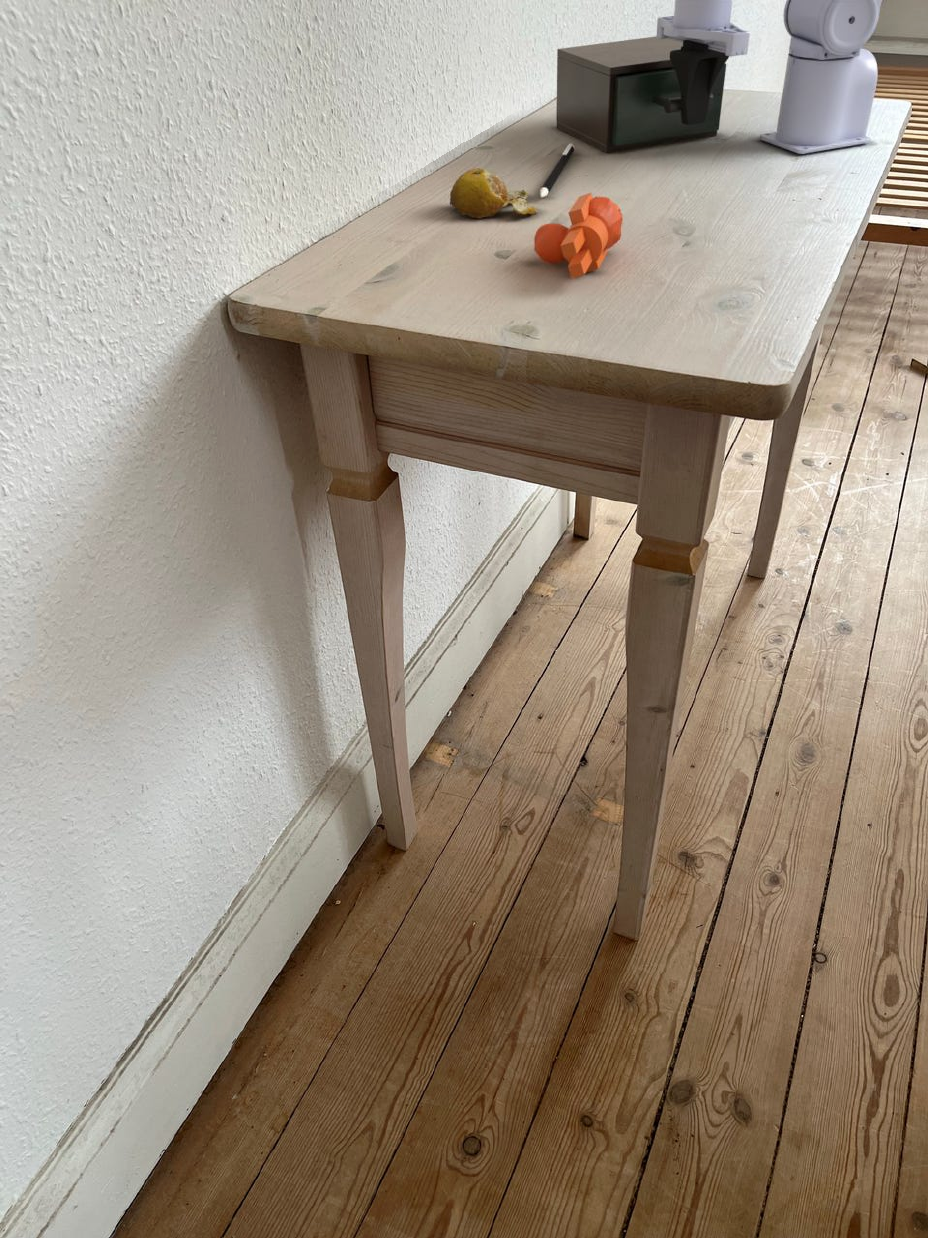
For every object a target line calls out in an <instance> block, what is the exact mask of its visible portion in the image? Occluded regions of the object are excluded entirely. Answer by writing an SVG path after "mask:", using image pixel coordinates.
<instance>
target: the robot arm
mask: <svg viewBox="0 0 928 1238" xmlns="http://www.w3.org/2000/svg"><path fill="white" fill-rule="evenodd" d="M882 2H883V0H786V1H785V4H784V8H783V24H784V28H785V30H786V32H787V34H788V35H789V36H790V41H789V47H788V53H787V61H786V67H785V74H784V79H783V86H782V92H781V100H780V105H779V113H778V119H777V126H776V131H771V132H767V133H761V134H759V137H758V138H759V140H761V141H763V142H766V143H769V144H772V145H774V146H776V147H779V148H782V149H784V150H787V151H790V152H793V153H795V154H799V155H804V154H811V153H815V152H821V151H828V150H832V149H833V150H834V149H839V148H845V147H846V148H847V147H851V146H857V145H863V144H869V143H870V142H871V137H868V136H867V133H868V127H869V122H870V117H871V113H872V109H873V104H874V99H875V94H876V89H877V84H878V78H879V77H878V73H879V71H878V64H877V60H876V57H875V56H874V54H873V53H872V52H870V51H869V50H868V49H866V48H862V47H863V46H864V45H865V44H866V43H867V42H868V41H869V40H870V39H871V36H872V35H873V34H874V31H875V29H876V27H877V25H878V21H879V19H880V13H881V5H882ZM732 7H733V0H674V9H673V10H674V12H673V15H669V16H661V17H657V20H656V21H657V23H656V38H658V39H666V38H667V39H671V40H675V41H679V42H683V46H681V49H680V50H673V51H671V52H670V60H671V62H672V64H673V67H674V69H675V72H676V75H677V78H678V82H679V86H680V92H681V119H682V123H683V124H686V125H693V124H699V123H704V122H705V119H706V115H707V111H708V106H709V100H710V94H711V90H712V88H713V85H714V83H715V81H716V78H717V76H718V74H719V73H720V71H721V69H722V67H723V66H724V64H725V63H726V62H727V61H728V60H729V58H730V57H737V56H745V55H748V51H749V45H750V44H749V42H750V36H751V35H750V34H751V32H750V31H748V30H745V29H743V28H740V27H739V26H737V25H735V24H733V22H731V16H732Z"/></svg>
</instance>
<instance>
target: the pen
mask: <svg viewBox="0 0 928 1238" xmlns="http://www.w3.org/2000/svg"><path fill="white" fill-rule="evenodd" d="M575 150H576V148H575V145H574V144H573V143H568V144H567V146H566V148H565V149H564V151H563V152H562V154H561V157H560V158H559V160H558V161H557V163H556V165H555V166H554V167H553V169H552V170H551V172H550V174H549V176H548V177H547V178H546V180H545V181H544V183H543V184H542V186H541V188H540V190H539V197H540V198H544V197H547V196H548V195H549V194H550V192H551V190H552V189H553V187H554V185H555V184H556V182H557V180H558V179H559V177H560V175H561V174H562V172H563V171H564V169H565V168H566V165H567V164H568V163H569V161H570V159H571V158H572V156H573V154H574V153H575Z"/></svg>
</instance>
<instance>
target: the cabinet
mask: <svg viewBox="0 0 928 1238" xmlns="http://www.w3.org/2000/svg"><path fill="white" fill-rule="evenodd" d="M656 36H657V35H656ZM656 36H649V37H648V36H647V37H642V38H641V37H640V38H633V39H625V40H617V41H609V42H608V41H607V42H601V43H593V44H586V45H578V46H577V45H576V46H570V47H562V48H557V49H556V109H555V110H556V117H555V118H556V119H555V121H556V124H555V128H556V129H557V130H559V131H561V132H563V133H565V134H567V135H570V136H571V137H573V138H575V139H578V140H580V141H582V142H583V143H585V144H588V145H589V146H591V147H593V148H595V149H598V150H600V151H601V152H603V153H606V154H609V153H616V152H623V151H629V150H634V149H641V148H648V147H652V146H653V147H654V146H660V145H667V144H672V143H679V142H685V141H691V140H696V139H697V140H698V139H704V138H709V137H716V136H718V135H717V134H718V130H716V131H709V132H703V133H697V134H690V135H684V136H678V137H672V138H665V139H659V140H653V141H646V142H640V143H634V144H627V145H621V146H615V145H613V144H612V130H613V110H614V90H615V77H616V75H620V74H628V73H635V72H642V71H650V70H657V69H664V68H671V67H673V64H672V62H671V60H670V52H671V51H673V50H680V49H681V46H683V42H679V41H675V40H671V39H667V38H666V39H658V38H656Z"/></svg>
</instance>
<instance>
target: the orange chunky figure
mask: <svg viewBox="0 0 928 1238" xmlns="http://www.w3.org/2000/svg"><path fill="white" fill-rule="evenodd" d="M621 211H622V210H621V208H620V207H619V206H618V204H616V203H614V202H613V201H612V200H611V199H610V198H609V197H606V196H594V197H593V193H592V192H590V193H586V194H583V195H580V196H578V197H577V199H576V201H575V202H574V203H573V205H572V206H571V208H570V210H569V211H568V216H569V219H570V223H571V225H570V227H567V226H565V225H563V224H561V223H553V222H552V223H551V222H550V223H545V224H542V225H541V226H539V227H538V229H537V230H536V231H535V234H534V239H533V243H534V249H533V250H534V252H535V253H536V255H537V256H538V257H539V259H541V260H542V261H543V262H545V263H547V264H550V265H557V264H561V263H564V262H566V261H567V262H568V265H567V268H568V271H569V275H570V278H571V279H574V278H578V277H581V276H585V274H586V273H589V272H593V271H596V270H599V269H600V268H601V265H602V263H603V262H604V259H605V258H606V256H607V254H608V252H609V249H611V248H613V246H615V244H617V243H618V242H619V240H621V237H622V225H623V220H624V219H623V212H621Z"/></svg>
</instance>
